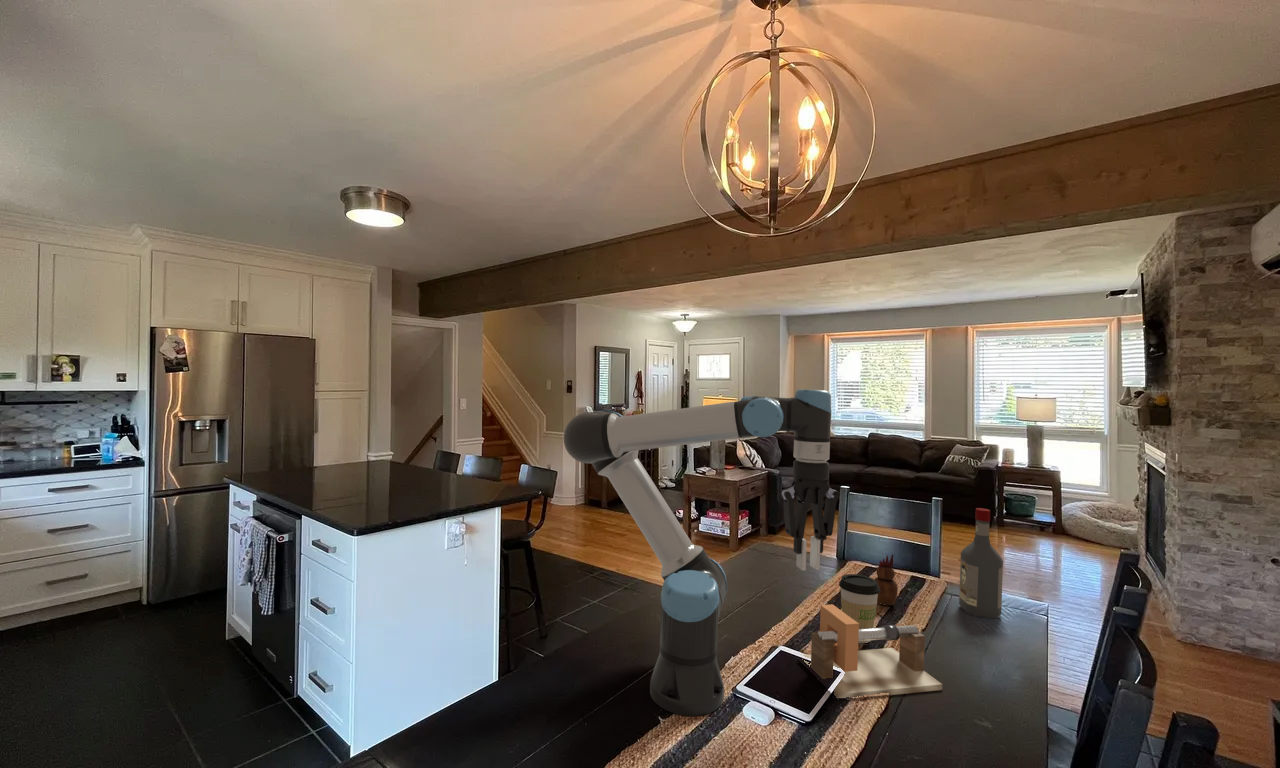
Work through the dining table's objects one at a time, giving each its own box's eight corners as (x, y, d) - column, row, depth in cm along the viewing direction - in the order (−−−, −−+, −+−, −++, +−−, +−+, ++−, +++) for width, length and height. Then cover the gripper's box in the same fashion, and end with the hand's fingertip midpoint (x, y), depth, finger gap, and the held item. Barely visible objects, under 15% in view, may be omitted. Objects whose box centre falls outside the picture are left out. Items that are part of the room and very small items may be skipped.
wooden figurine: (898, 603, 161) (899, 553, 161) (895, 609, 156) (897, 558, 156) (873, 598, 165) (875, 549, 165) (870, 604, 160) (872, 553, 160)
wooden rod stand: (837, 700, 109) (838, 656, 109) (798, 660, 125) (799, 622, 125) (942, 689, 115) (943, 647, 115) (892, 652, 130) (893, 615, 130)
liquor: (989, 607, 161) (992, 507, 161) (1004, 620, 152) (1007, 514, 152) (956, 603, 162) (959, 505, 162) (969, 616, 153) (972, 511, 153)
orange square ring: (844, 671, 113) (846, 624, 113) (819, 648, 123) (820, 605, 123) (857, 670, 114) (858, 623, 114) (831, 647, 124) (832, 604, 124)
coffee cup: (882, 650, 132) (884, 589, 132) (840, 644, 133) (842, 584, 134) (873, 632, 141) (875, 575, 141) (834, 627, 143) (836, 571, 143)
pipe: (823, 648, 116) (824, 634, 116) (815, 641, 119) (816, 627, 119) (919, 641, 121) (920, 627, 121) (909, 634, 124) (910, 620, 124)
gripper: (786, 462, 111) (782, 575, 111) (853, 462, 115) (850, 572, 115) (770, 457, 119) (766, 563, 119) (833, 458, 122) (830, 561, 122)
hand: (807, 567), depth 117 cm, fingers open, 3 cm apart
